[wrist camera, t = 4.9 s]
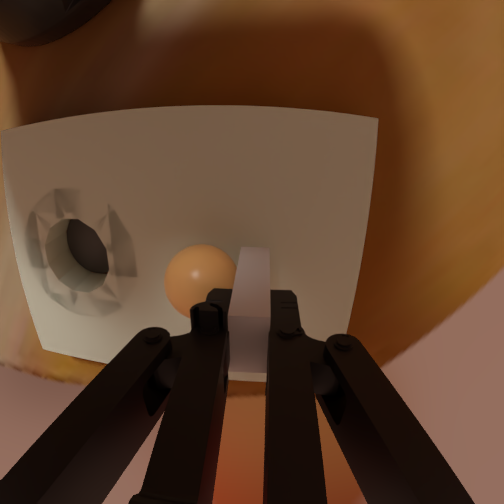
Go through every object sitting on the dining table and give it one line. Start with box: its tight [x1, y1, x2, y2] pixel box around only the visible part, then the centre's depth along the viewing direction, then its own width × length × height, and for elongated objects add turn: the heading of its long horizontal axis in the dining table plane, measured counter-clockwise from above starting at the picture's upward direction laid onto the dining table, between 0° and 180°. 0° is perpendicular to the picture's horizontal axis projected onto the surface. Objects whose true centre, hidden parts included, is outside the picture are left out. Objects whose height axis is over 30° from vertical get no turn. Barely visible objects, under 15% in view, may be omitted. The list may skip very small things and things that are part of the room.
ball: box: [164, 244, 237, 318], centre depth 17 cm, size 4×4×4 cm
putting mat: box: [1, 105, 378, 382], centre depth 20 cm, size 18×24×3 cm
